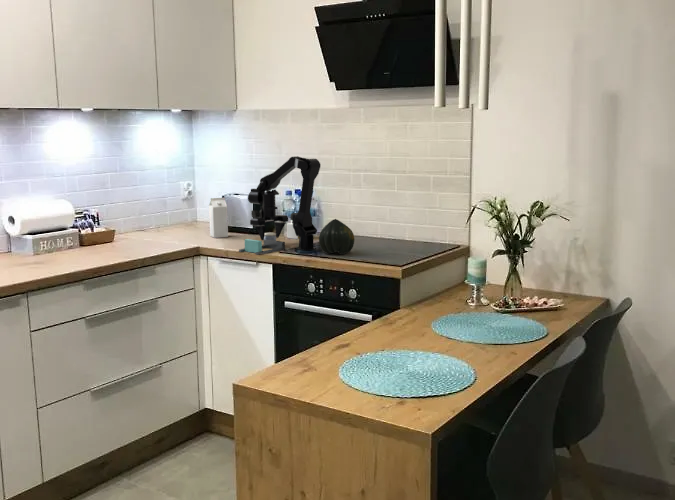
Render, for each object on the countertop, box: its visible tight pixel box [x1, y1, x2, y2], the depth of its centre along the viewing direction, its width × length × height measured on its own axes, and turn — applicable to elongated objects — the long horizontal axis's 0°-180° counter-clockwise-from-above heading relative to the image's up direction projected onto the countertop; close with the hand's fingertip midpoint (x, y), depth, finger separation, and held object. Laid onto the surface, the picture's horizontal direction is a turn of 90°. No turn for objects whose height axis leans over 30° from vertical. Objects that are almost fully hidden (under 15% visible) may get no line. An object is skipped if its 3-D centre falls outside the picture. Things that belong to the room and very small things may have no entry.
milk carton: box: [208, 197, 229, 239], centre depth 360 cm, size 7×7×19 cm
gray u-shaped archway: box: [238, 239, 286, 256], centre depth 320 cm, size 16×12×4 cm
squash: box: [318, 218, 355, 255], centre depth 313 cm, size 14×15×15 cm
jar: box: [263, 232, 277, 241], centre depth 335 cm, size 6×6×5 cm
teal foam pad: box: [244, 238, 263, 254], centre depth 316 cm, size 2×9×5 cm, turn 48°
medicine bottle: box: [286, 212, 299, 240], centre depth 355 cm, size 7×7×12 cm
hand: (270, 239), depth 335 cm, fingers open, 9 cm apart
